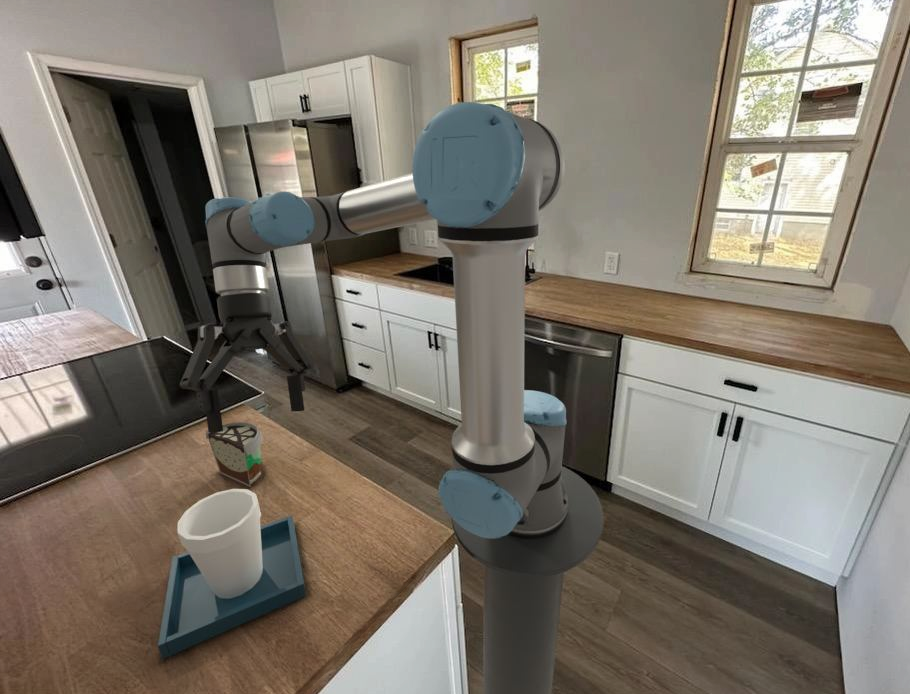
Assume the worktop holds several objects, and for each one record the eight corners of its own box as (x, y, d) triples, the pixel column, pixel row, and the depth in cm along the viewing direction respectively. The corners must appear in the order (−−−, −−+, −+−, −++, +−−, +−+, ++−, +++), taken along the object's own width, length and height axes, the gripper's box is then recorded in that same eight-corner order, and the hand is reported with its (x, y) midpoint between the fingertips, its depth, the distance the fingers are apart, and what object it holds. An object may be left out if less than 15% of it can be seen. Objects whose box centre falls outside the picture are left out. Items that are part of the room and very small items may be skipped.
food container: (283, 470, 86) (275, 430, 82) (255, 489, 80) (245, 446, 77) (244, 454, 90) (234, 415, 87) (215, 471, 85) (204, 430, 81)
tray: (294, 525, 72) (292, 514, 71) (306, 595, 61) (303, 583, 60) (176, 568, 64) (171, 556, 63) (162, 659, 52) (157, 646, 51)
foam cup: (287, 568, 64) (272, 503, 59) (225, 621, 56) (202, 550, 52) (249, 543, 68) (232, 480, 63) (187, 589, 60) (162, 522, 56)
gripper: (298, 298, 81) (312, 404, 82) (139, 297, 59) (159, 442, 60) (323, 293, 78) (337, 403, 78) (163, 289, 56) (184, 443, 56)
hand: (260, 420), depth 69 cm, fingers open, 13 cm apart
